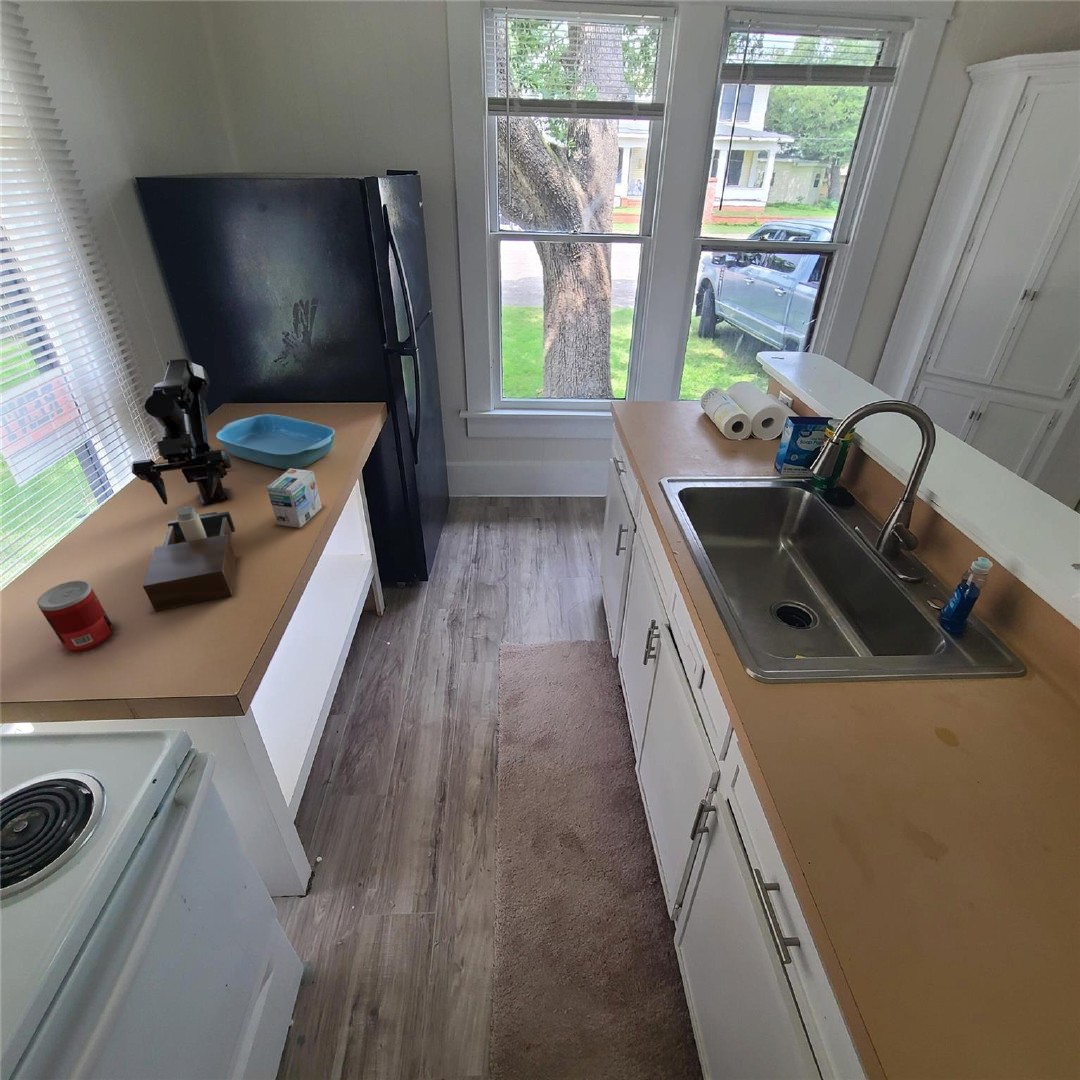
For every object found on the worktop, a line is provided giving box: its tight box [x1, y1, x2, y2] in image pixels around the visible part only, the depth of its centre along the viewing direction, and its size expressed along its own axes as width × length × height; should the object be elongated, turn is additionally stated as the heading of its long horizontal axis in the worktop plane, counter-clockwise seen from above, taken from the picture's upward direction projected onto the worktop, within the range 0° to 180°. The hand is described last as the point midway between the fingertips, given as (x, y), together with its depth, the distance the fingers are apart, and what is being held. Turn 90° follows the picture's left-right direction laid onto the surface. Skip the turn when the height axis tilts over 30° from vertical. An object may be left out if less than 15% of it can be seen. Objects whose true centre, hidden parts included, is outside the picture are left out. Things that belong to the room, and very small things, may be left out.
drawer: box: [162, 511, 236, 546], centre depth 133 cm, size 17×13×5 cm
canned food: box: [36, 580, 114, 653], centre depth 107 cm, size 8×8×11 cm
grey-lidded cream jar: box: [176, 506, 207, 542], centre depth 128 cm, size 4×4×10 cm
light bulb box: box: [266, 469, 323, 529], centre depth 144 cm, size 11×7×11 cm, turn 168°
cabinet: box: [142, 535, 237, 613], centre depth 122 cm, size 14×14×7 cm
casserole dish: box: [215, 413, 336, 471], centre depth 175 cm, size 37×22×7 cm, turn 66°
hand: (188, 500), depth 129 cm, fingers open, 9 cm apart
